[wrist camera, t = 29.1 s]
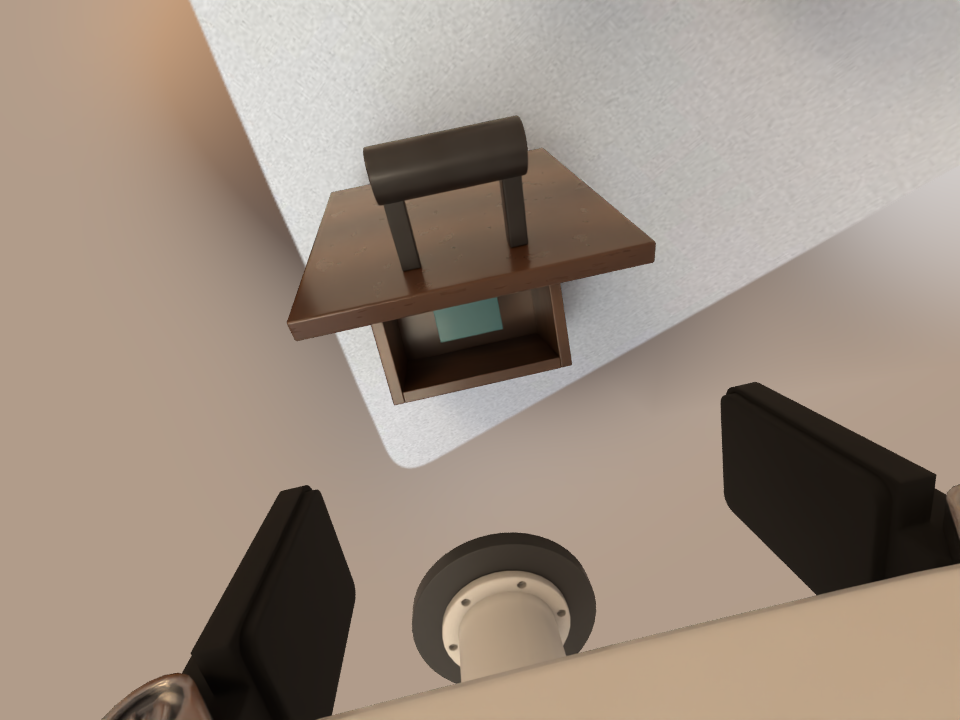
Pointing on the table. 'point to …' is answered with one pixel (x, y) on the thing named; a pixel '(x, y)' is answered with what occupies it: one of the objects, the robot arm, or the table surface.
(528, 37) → the table surface
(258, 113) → the table surface
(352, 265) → the lid
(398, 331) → the chest
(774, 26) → the table surface
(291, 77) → the table surface
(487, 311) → the block
